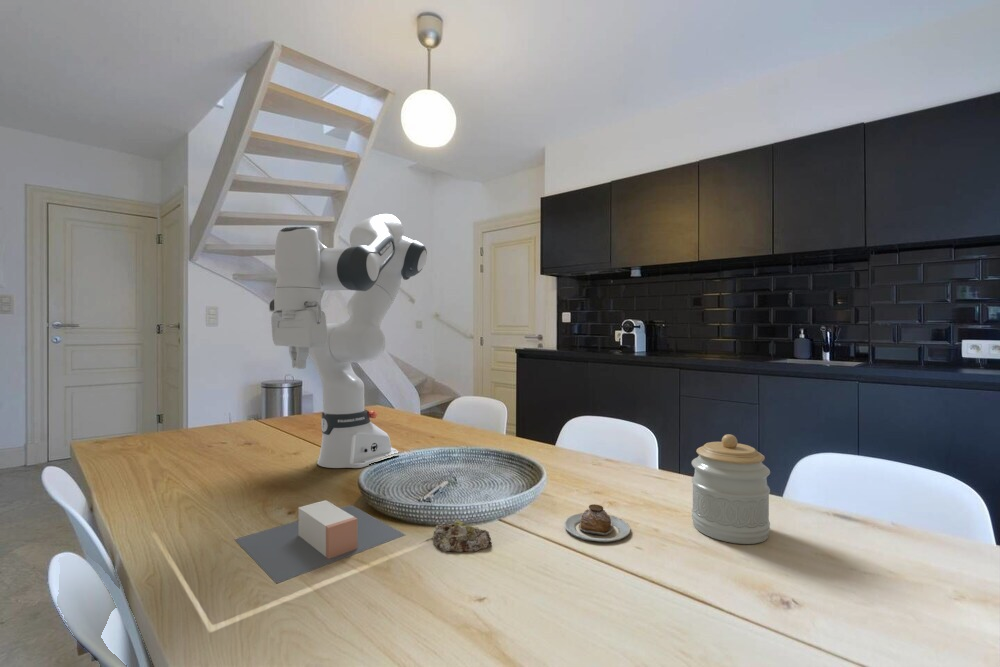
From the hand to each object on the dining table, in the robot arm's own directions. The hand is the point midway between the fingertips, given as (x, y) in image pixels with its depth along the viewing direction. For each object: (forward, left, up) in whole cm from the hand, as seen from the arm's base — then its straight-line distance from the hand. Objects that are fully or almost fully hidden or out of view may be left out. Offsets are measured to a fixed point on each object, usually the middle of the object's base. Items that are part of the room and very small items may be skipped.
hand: (299, 368), depth 97 cm
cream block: (+4, +15, -26) cm, 31 cm away
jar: (-51, +69, -29) cm, 91 cm away
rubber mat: (+4, +19, -29) cm, 35 cm away
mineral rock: (-13, +37, -30) cm, 49 cm away
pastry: (-34, +51, -30) cm, 68 cm away
